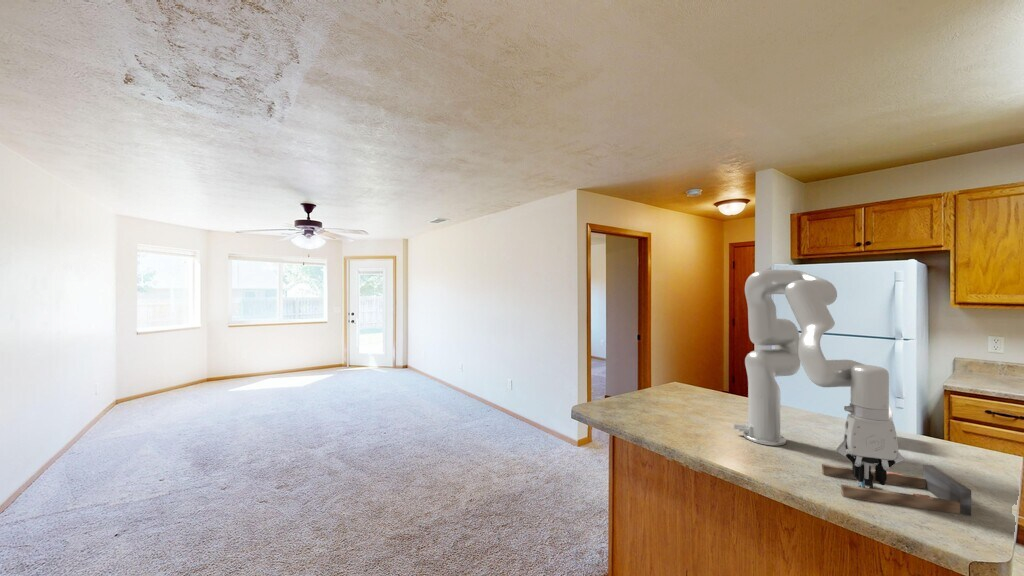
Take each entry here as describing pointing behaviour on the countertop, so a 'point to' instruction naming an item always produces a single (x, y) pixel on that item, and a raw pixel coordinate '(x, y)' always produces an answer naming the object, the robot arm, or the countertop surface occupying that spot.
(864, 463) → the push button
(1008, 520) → the countertop surface
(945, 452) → the countertop surface
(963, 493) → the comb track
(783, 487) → the countertop surface
